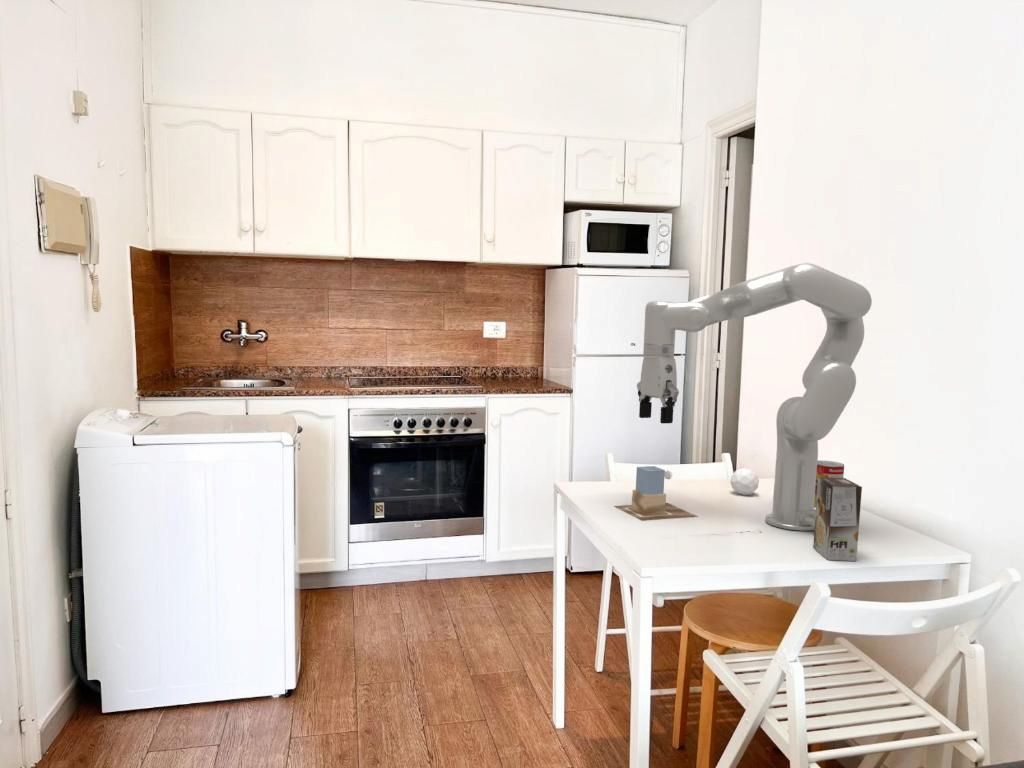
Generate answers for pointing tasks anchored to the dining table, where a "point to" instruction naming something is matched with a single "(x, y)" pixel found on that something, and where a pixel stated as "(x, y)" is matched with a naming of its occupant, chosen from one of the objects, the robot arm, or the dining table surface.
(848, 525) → the coffee box
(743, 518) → the dining table surface
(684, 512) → the plate
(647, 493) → the slate block
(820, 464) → the canned food
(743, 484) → the geometric ball
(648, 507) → the oak block
